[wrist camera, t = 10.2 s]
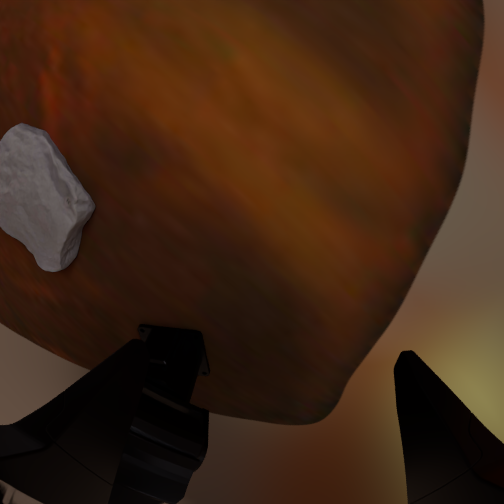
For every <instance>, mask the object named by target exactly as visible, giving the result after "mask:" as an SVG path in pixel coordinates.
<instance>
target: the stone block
mask: <svg viewBox="0 0 504 504" xmlns="http://www.w3.org/2000/svg"><path fill="white" fill-rule="evenodd" d="M94 209H95V204H94V202H93V201H92V199H91V197H90V195H89V194H88V193H87V192H86V191H85V190H84V188H83V186H82V185H81V183H80V181H79V180H78V179H77V177H76V176H75V175H74V174H73V173H72V171H71V169H70V167H69V166H68V164H67V162H66V159H65V158H64V156H63V155H62V154H61V153H60V151H59V150H58V148H57V146H56V145H55V144H54V143H53V141H52V140H51V138H50V136H49V135H48V133H47V132H46V131H44V130H41V129H37V128H34V127H31V126H29V125H27V124H23V123H21V124H19V125H16V126H15V127H13V128H11V129H10V130H9V131H8V132H7V133H6V134H5V135H4V137H3V138H2V140H1V141H0V227H1V228H2V229H3V230H4V231H5V232H6V233H7V234H9V235H10V236H12V237H14V238H16V239H18V240H19V241H21V242H22V243H23V244H24V245H25V246H26V247H27V249H28V250H29V251H30V252H31V253H32V254H33V255H34V257H35V259H36V261H37V264H38V265H39V266H40V267H41V268H42V269H43V270H45V271H51V272H56V271H60V270H63V269H65V268H66V267H68V266H69V265H70V264H71V262H72V261H73V260H74V259H75V258H76V256H77V253H78V250H79V245H80V239H81V236H82V229H83V226H84V225H85V224H86V222H87V221H88V220H89V219H90V217H91V215H92V213H93V211H94Z"/></svg>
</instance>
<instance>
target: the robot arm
mask: <svg viewBox="0 0 504 504" xmlns="http://www.w3.org/2000/svg"><path fill="white" fill-rule="evenodd" d="M138 332H139V334H140V337H141V339H142V340H139V339H132V340H130V341H129V342H128V343H126V344H125V345H124V346H122V347H121V348H120V349H118V350H117V351H116V352H115V353H113V354H112V355H111V356H109V357H108V358H107V359H105V360H104V361H103V362H101V363H100V364H99V365H97V366H96V367H95V368H93V369H92V370H91V371H90V372H88V373H87V374H86V375H84V376H83V377H82V378H80V379H79V380H78V381H76V382H75V383H74V384H72V385H71V386H70V387H68V388H67V389H66V390H65V391H63V392H62V393H61V394H59V395H58V396H57V397H55V398H54V399H52V400H51V401H50V402H48V403H47V404H45V405H44V406H42V407H41V408H39V409H37V410H36V411H34V412H33V413H31V414H29V415H27V416H26V417H24V418H22V419H21V420H19V421H17V422H15V423H13V424H10V425H0V504H163V503H164V502H165V503H168V504H176V503H177V502H179V501H180V500H181V499H182V498H183V497H184V495H185V492H186V489H187V486H188V483H189V481H190V478H191V476H192V474H193V472H194V471H196V470H197V469H198V468H199V467H200V466H201V464H202V462H203V460H204V458H205V455H206V452H207V448H208V424H209V423H208V422H209V411H208V410H206V409H204V408H203V409H201V408H199V407H197V406H195V405H192V404H190V399H191V396H192V392H193V389H194V386H195V382H196V379H197V375H200V376H208V375H209V373H210V369H209V364H208V359H207V355H206V350H205V345H204V340H203V335H202V333H201V332H200V331H197V330H188V329H178V328H169V327H160V326H152V325H145V324H141V325H139V327H138ZM394 380H395V393H396V407H397V414H398V420H399V426H400V433H401V440H402V446H403V455H404V463H405V472H406V484H407V496H408V504H504V444H503V443H502V442H501V441H500V440H499V439H498V438H497V437H496V436H495V435H493V434H492V433H491V432H490V431H489V430H488V429H487V428H486V427H485V426H484V425H483V424H482V423H481V422H480V421H479V420H478V419H477V418H476V417H475V415H474V414H473V413H471V411H470V410H469V409H468V408H467V407H466V406H465V405H464V403H463V402H462V401H461V400H460V399H459V398H458V397H457V396H456V395H455V394H454V393H453V392H452V391H451V389H450V388H449V387H448V386H447V385H446V384H445V383H444V382H443V381H442V380H441V379H440V378H439V377H438V376H437V375H436V374H435V373H434V372H433V371H432V370H431V369H430V368H429V367H428V366H427V365H426V363H424V362H423V361H422V359H421V358H420V357H418V355H416V353H415V352H414V351H412V350H410V351H402V352H401V353H400V355H399V357H398V360H397V362H396V364H395V366H394Z"/></svg>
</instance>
